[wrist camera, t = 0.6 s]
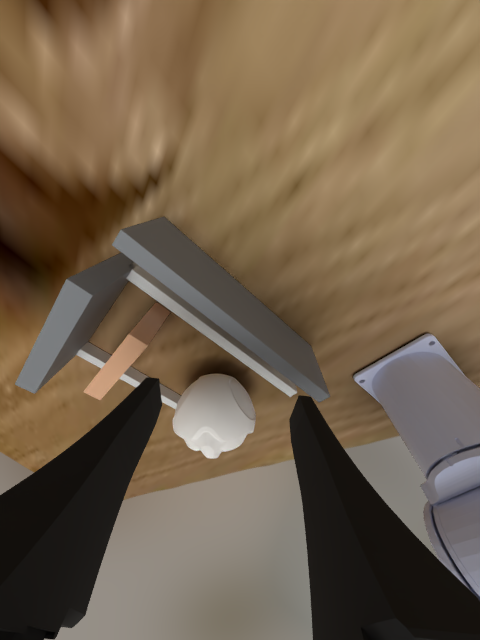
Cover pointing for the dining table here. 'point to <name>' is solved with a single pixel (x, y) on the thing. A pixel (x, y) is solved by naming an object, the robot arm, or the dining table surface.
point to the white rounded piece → (214, 415)
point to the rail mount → (182, 299)
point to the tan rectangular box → (128, 351)
